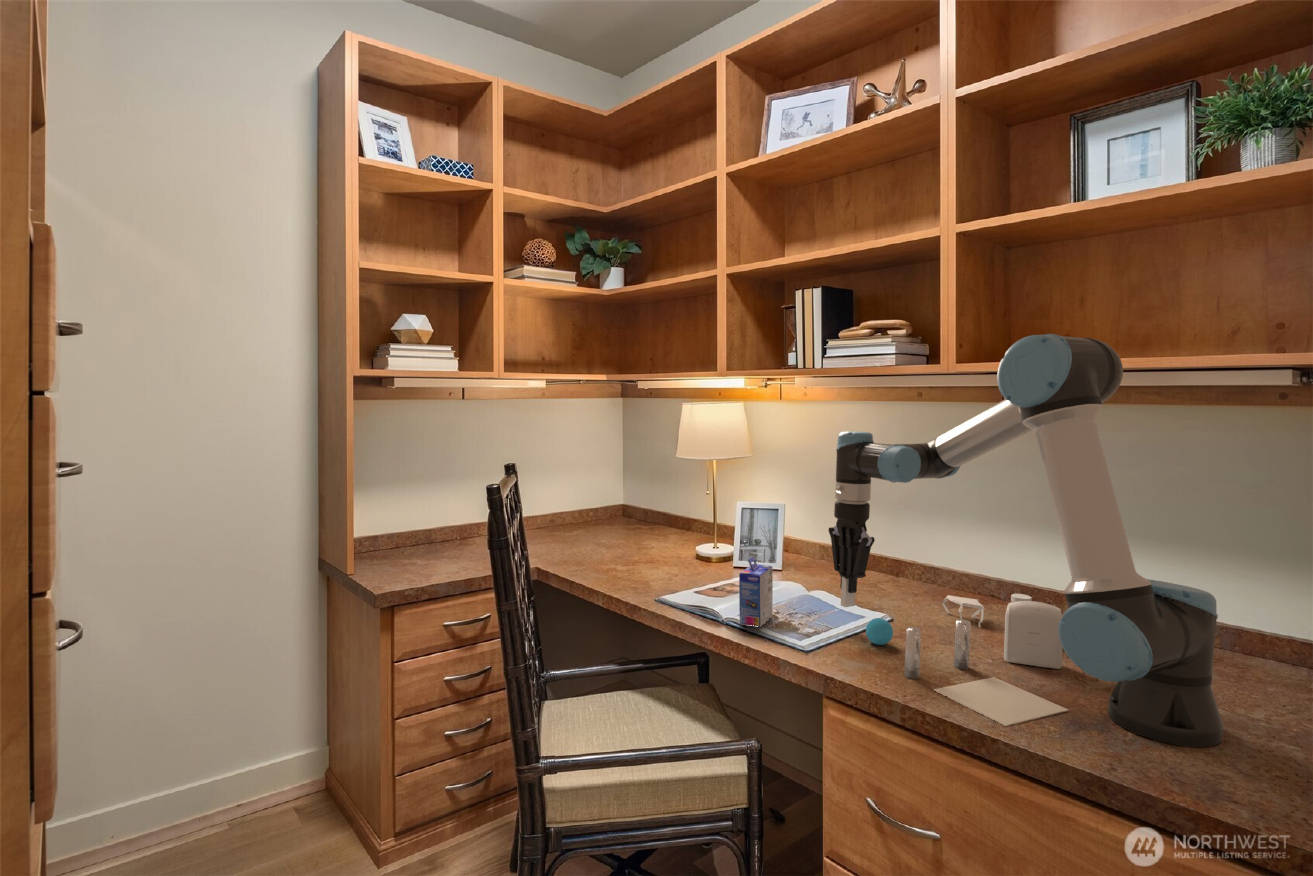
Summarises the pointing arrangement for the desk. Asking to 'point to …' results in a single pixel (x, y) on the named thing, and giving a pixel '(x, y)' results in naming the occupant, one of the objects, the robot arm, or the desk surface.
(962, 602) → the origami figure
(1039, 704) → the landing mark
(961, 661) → the gate post right
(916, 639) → the gate post left
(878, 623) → the ball
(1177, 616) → the robot arm
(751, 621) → the ink cartridge box
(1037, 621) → the photo printer
